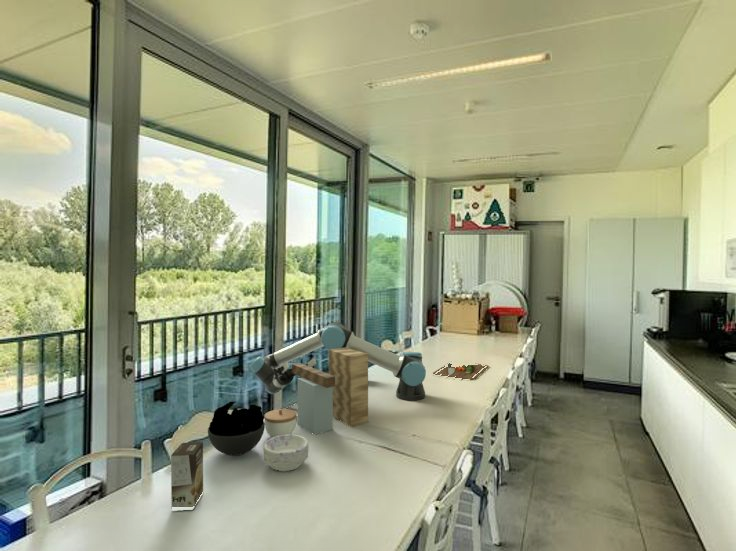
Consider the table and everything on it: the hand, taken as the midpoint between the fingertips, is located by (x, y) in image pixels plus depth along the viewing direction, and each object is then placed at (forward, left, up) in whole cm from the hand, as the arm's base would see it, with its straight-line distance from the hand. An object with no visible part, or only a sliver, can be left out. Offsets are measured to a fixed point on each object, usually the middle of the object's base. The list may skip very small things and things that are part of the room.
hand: (301, 362), depth 193 cm
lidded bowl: (-2, +20, -26) cm, 32 cm away
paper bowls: (-18, +40, -26) cm, 51 cm away
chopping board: (-48, -115, -26) cm, 128 cm away
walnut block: (-8, +4, -5) cm, 11 cm away
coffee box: (-5, +71, -26) cm, 75 cm away
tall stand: (-18, -9, -25) cm, 33 cm away
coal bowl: (+4, +39, -26) cm, 47 cm away
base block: (-10, +5, -25) cm, 28 cm away
